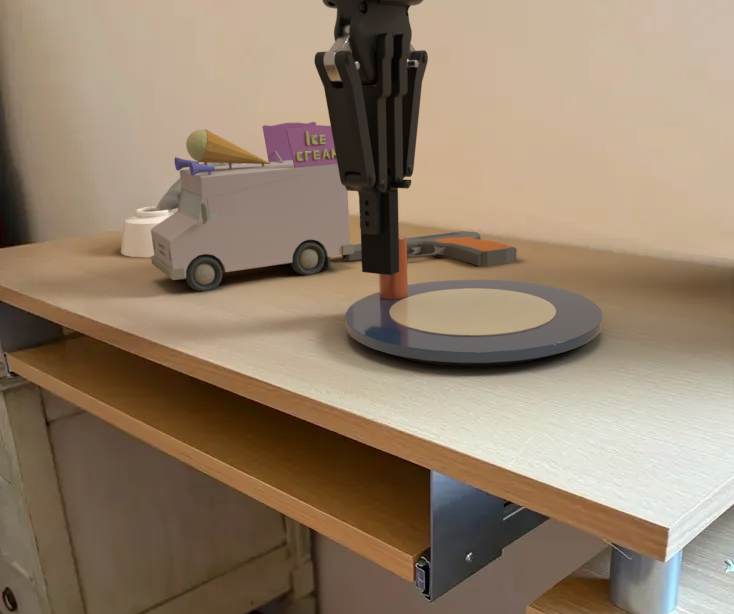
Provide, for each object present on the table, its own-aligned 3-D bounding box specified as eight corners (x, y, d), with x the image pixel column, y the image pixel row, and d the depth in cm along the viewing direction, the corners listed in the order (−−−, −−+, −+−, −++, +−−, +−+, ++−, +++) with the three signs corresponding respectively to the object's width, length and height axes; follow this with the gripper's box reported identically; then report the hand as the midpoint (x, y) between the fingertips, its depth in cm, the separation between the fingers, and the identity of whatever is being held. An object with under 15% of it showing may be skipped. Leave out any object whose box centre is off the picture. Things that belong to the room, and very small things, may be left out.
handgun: (384, 282, 82) (341, 260, 93) (521, 263, 88) (466, 244, 98) (384, 265, 82) (340, 244, 92) (521, 246, 87) (466, 229, 97)
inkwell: (108, 251, 102) (95, 168, 98) (235, 230, 112) (228, 153, 108) (140, 263, 95) (128, 173, 91) (272, 239, 105) (266, 157, 102)
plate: (511, 384, 53) (513, 295, 50) (292, 330, 65) (287, 256, 63) (646, 310, 66) (653, 238, 64) (445, 277, 79) (445, 216, 76)
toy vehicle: (152, 281, 87) (131, 131, 81) (322, 256, 95) (314, 118, 89) (176, 300, 79) (154, 136, 73) (358, 272, 87) (352, 122, 81)
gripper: (373, -42, 66) (380, 252, 75) (275, -59, 56) (297, 285, 65) (459, -52, 62) (456, 259, 71) (370, -72, 52) (380, 295, 61)
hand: (380, 271), depth 68 cm, fingers closed
